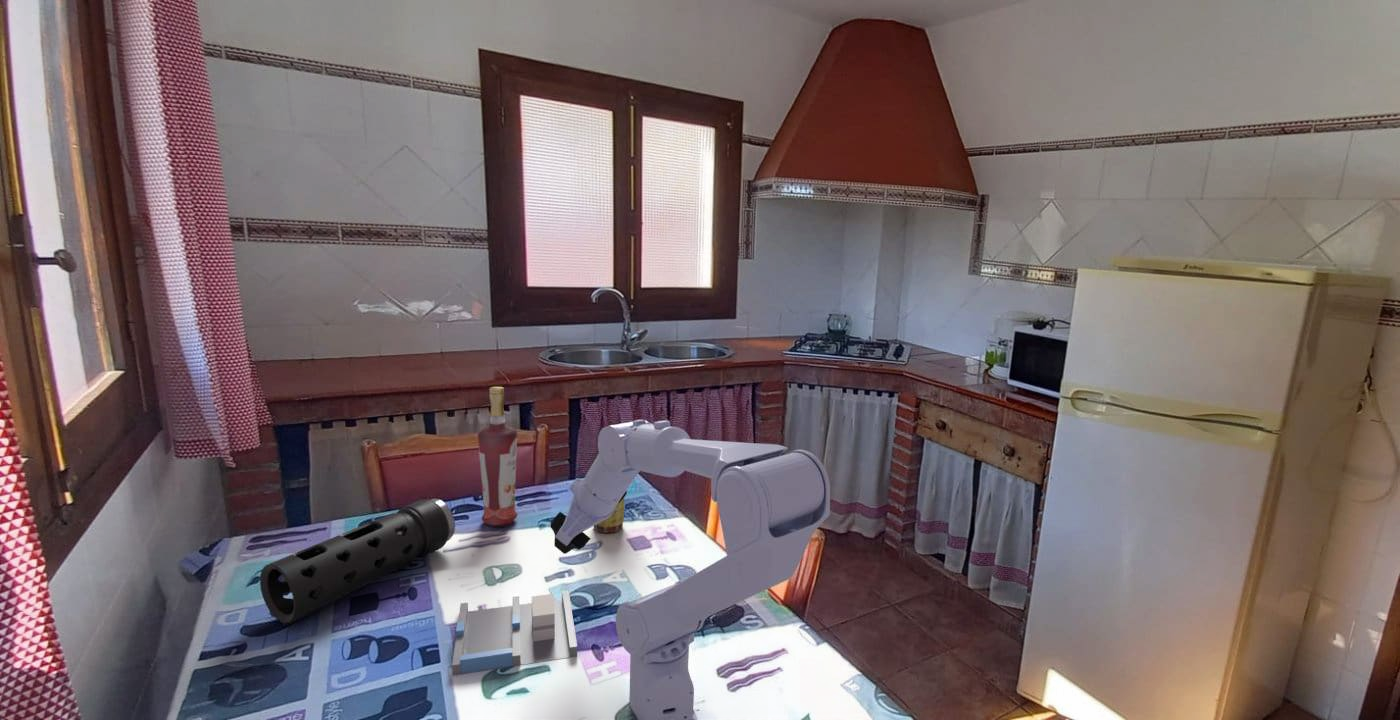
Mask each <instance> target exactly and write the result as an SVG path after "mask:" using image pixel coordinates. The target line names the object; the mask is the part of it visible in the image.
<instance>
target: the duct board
mask: <svg viewBox="0 0 1400 720" xmlns="http://www.w3.org/2000/svg"><path fill="white" fill-rule="evenodd" d="M569 591H570V590H569V589H566V590H561V599H553V604H554V613H555V639H548V640H541V641H535V642H533V632H532V602H531V603H524V604H520V596H519V595H518V596H512V605H507V606H498V607H492V608H485V609H484V608H483V609H476V610H469V605H468V604H469V602H463V603H460V607H459V611H458V612H459V613H458V619H457V622H456V629H455V643H454V649H453V650H454V651H453V658H452V664H451V671H452V673H451V674H452V676H453V677H455V676H459V675H460V676H462V675H466V674H473V673H480V672H486V671H492V670H500V669H504V668H511V667H519V666H524V665H525V666H526V665H532V664H536V663H537V664H538V663H544V662H550V661H556V660H557V661H558V660H563V659H569V658H574V657H578V641H577V637H576V629H575V624H574V618H573V609H572V603H571V597H570V592H569Z"/></svg>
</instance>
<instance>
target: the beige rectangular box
mask: <svg viewBox="0 0 1400 720" xmlns="http://www.w3.org/2000/svg"><path fill="white" fill-rule="evenodd" d="M553 600H554V598H553V593H549V594H541V595H533V596H532V595H531V603H532V632H533V642H535V641H541V640H548V639H555V613H554V604H553Z"/></svg>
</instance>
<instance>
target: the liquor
mask: <svg viewBox="0 0 1400 720" xmlns="http://www.w3.org/2000/svg"><path fill="white" fill-rule="evenodd" d="M504 399H505V389H504V387H503V386H491V387H489V400H490V414H489V417H490V418H489V426H487V427H484V428H483V429H481V431H479V432H478V434H477V438H478V439H477V441H478V453H479V455H478V456H479V466H480V475H481V488H482V499H483V500H482V502H483V514H482V516H481V520H482V522H484V523H485V524H486V525H488V526H489V527H491V528H503V527H506V526H508V525H510V524H512V523H513V522H514V521H515V519H516V518H517V517H518V512H517V511H516V473H517V472H516V471H517V451H518V450H517V445H518V444H517V443H518V441H517V440H518V432H517V430H516V429H514V428H513V427H511V426H509V425H506V417H505V410H504V409H505V408H504Z"/></svg>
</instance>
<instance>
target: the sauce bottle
mask: <svg viewBox="0 0 1400 720" xmlns="http://www.w3.org/2000/svg"><path fill="white" fill-rule="evenodd" d="M625 497H626V496H625ZM625 497H624V498H623V499H622V501H621V502H620V503H618V504H617V505H616V508H615V510H614V512H613V513H612V515H611V516H610V517H609V518H607V519H606V520H604V521H602V522H600V523H598V524H596V525H594V526H593V528H594V530H595V531H597V532H598V533H600V534H612V533H616V532H618V531H620V530H622V529H623V525H624V518H625V517H624V516H625V514H624V513H625Z"/></svg>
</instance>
